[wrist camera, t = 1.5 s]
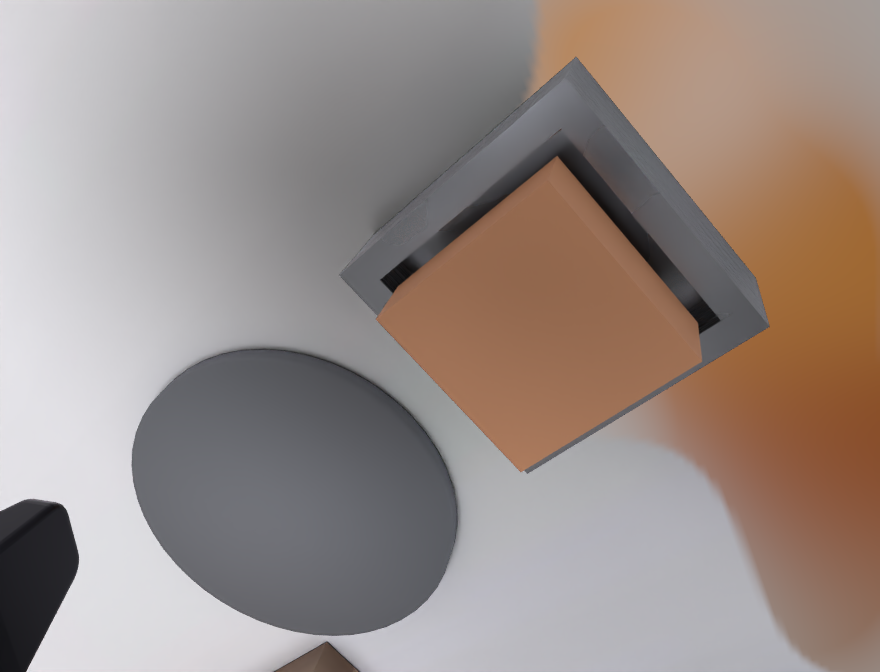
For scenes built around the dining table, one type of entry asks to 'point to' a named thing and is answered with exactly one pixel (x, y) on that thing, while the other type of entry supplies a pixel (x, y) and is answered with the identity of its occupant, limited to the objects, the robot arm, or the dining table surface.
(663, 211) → the button housing
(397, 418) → the slate coaster
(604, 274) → the button
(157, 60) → the dining table surface
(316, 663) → the walnut can holder
